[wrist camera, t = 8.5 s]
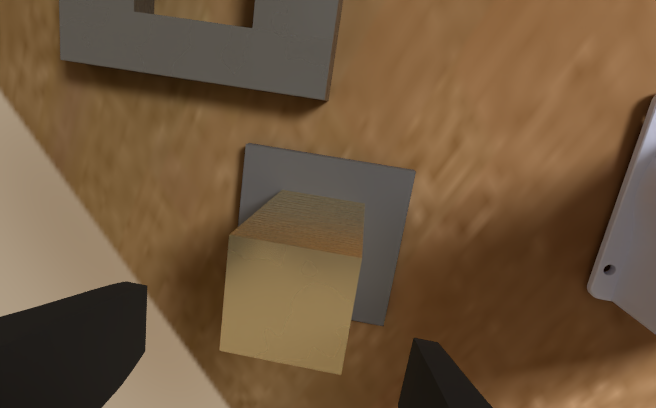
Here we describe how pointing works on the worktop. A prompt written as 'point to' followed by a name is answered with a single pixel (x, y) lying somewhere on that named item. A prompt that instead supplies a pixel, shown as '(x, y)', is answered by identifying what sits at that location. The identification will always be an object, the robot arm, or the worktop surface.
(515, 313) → the worktop surface
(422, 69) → the worktop surface
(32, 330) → the robot arm
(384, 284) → the rubber mat
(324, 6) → the socket plate
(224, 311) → the brass peg
